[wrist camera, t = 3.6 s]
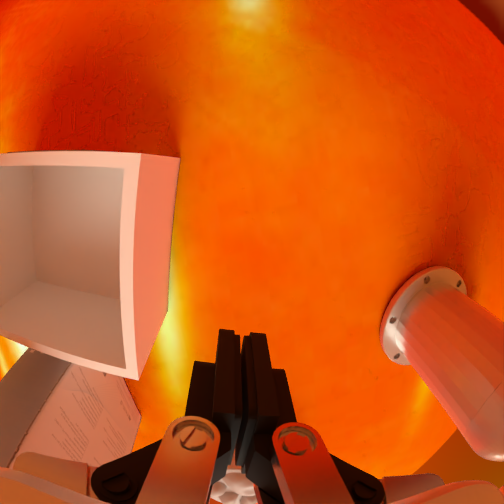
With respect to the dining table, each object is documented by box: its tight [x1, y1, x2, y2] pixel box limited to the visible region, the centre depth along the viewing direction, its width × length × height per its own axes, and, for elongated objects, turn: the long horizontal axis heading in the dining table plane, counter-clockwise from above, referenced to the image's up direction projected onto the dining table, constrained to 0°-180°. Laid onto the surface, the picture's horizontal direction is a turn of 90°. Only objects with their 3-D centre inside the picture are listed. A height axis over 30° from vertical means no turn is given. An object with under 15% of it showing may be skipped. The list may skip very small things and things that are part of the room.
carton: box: [0, 150, 181, 380], centre depth 18 cm, size 16×14×10 cm
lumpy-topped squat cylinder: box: [211, 449, 258, 504], centre depth 29 cm, size 10×13×9 cm
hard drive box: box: [0, 347, 141, 469], centre depth 19 cm, size 16×8×20 cm, turn 5°
